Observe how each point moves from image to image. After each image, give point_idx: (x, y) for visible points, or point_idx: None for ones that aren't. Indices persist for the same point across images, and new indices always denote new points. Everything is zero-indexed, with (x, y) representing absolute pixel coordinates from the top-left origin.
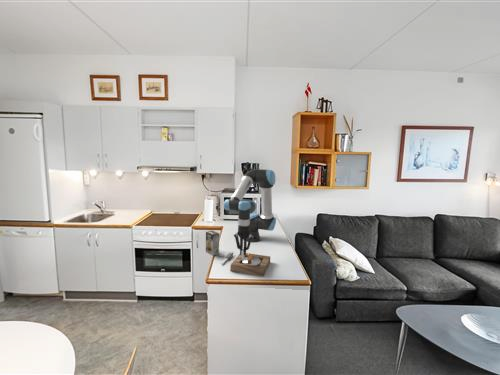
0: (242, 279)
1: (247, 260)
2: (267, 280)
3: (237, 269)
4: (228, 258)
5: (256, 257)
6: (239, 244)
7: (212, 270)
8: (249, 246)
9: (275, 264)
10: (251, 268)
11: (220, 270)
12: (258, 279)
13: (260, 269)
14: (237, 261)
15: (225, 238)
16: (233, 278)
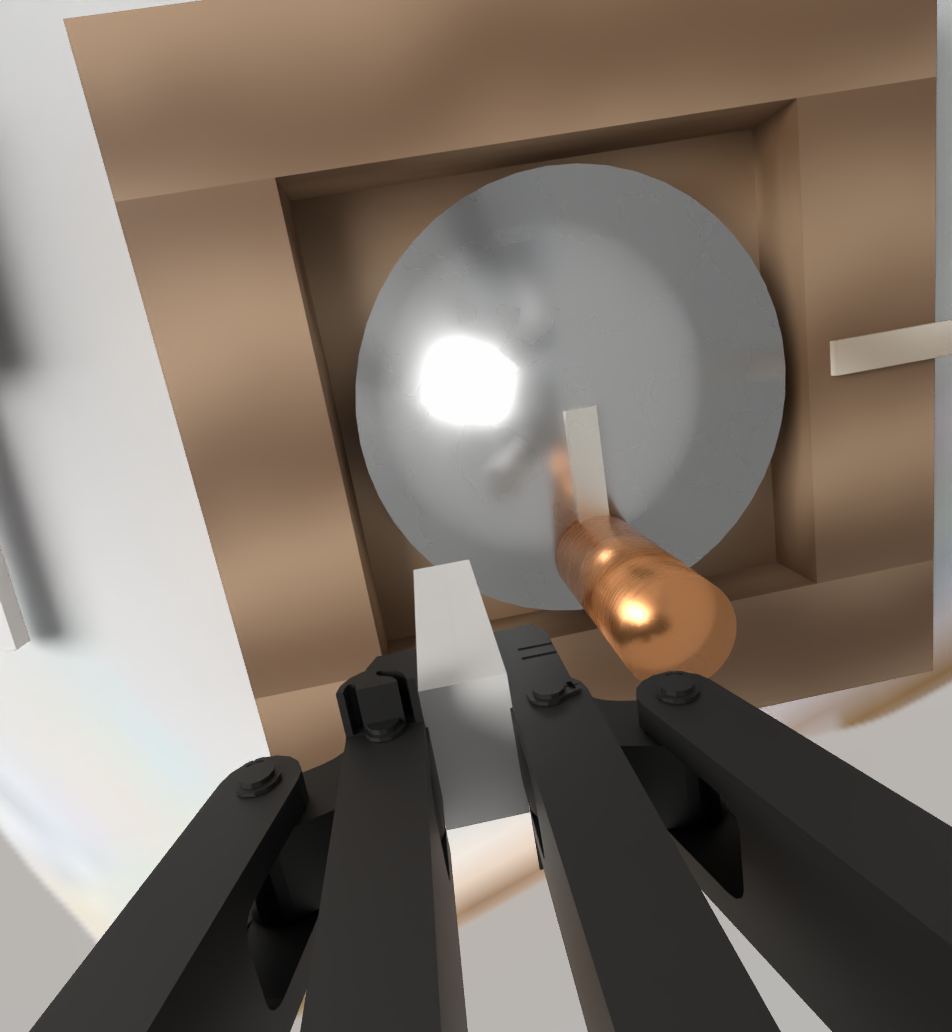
0: None
1: (498, 453)
2: (925, 689)
3: None
4: None
5: (624, 169)
6: (252, 903)
7: (33, 866)
8: (785, 745)
9: (949, 56)
10: None
11: (148, 800)
12: (803, 729)
13: (874, 679)
14: (325, 615)
15: None
16: (473, 885)
